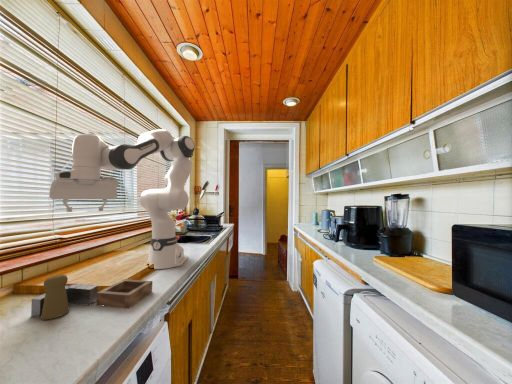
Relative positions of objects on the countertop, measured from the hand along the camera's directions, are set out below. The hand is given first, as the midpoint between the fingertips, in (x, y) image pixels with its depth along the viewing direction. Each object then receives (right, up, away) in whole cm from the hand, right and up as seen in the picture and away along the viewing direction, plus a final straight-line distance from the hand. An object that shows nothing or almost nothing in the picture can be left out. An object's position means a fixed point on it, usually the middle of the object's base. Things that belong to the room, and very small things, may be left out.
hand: (85, 211), depth 82 cm
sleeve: (+21, -29, -9) cm, 37 cm away
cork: (+7, -29, -19) cm, 35 cm away
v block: (+5, -29, -14) cm, 32 cm away
